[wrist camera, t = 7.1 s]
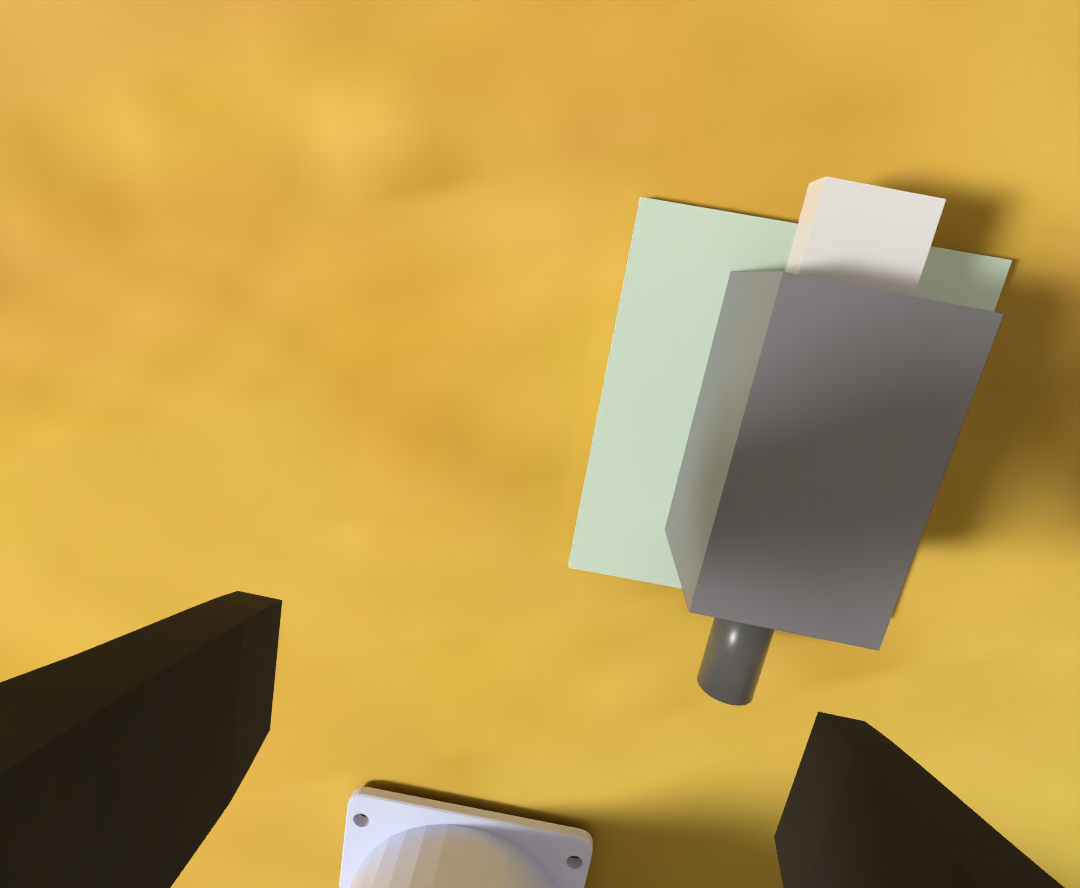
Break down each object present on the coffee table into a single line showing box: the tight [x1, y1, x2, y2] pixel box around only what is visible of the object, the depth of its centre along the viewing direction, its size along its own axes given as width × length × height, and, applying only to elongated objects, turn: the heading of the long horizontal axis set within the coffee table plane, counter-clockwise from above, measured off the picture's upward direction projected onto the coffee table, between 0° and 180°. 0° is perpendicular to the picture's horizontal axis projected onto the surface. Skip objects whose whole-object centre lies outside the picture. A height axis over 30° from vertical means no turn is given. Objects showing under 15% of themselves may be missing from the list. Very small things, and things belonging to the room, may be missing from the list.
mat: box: [568, 197, 1012, 588], centre depth 17 cm, size 10×9×1 cm
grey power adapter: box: [665, 177, 1004, 705], centre depth 15 cm, size 12×4×4 cm, turn 169°
